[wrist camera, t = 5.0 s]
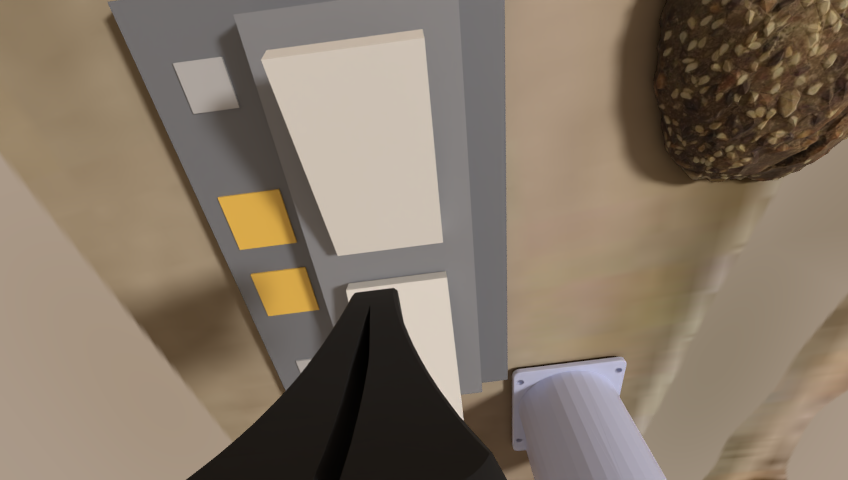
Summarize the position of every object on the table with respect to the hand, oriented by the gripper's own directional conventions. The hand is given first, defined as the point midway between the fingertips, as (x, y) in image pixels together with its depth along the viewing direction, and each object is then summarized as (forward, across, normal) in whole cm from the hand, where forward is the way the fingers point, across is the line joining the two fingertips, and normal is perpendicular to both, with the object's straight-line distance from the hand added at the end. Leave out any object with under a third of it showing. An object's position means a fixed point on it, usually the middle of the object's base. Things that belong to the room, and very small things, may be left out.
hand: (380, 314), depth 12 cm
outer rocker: (+6, 0, -3) cm, 6 cm away
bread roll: (+10, -19, -5) cm, 22 cm away
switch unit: (+9, +2, +2) cm, 10 cm away
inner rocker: (+6, 0, +8) cm, 10 cm away
